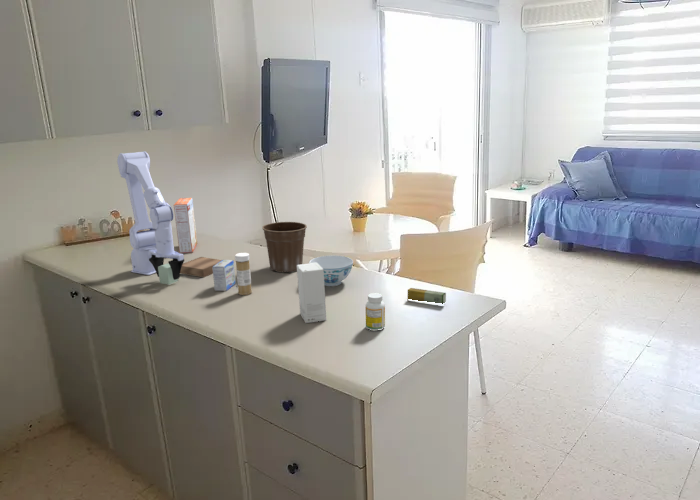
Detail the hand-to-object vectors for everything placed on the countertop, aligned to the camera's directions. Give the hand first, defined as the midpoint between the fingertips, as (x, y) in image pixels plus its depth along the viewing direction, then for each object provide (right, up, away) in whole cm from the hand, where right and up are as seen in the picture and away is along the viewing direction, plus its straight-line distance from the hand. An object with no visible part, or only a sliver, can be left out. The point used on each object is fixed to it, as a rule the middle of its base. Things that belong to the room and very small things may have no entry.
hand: (168, 277), depth 199 cm
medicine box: (+21, -3, -6) cm, 22 cm away
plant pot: (+40, +3, +14) cm, 42 cm away
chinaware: (+58, -2, -4) cm, 58 cm away
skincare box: (+53, -10, -33) cm, 63 cm away
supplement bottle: (+71, -12, -42) cm, 83 cm away
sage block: (0, -2, 0) cm, 2 cm away
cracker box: (-5, +10, +42) cm, 44 cm away
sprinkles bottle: (+29, -5, -12) cm, 32 cm away
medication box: (+88, -7, -24) cm, 91 cm away
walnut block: (+9, +2, +12) cm, 15 cm away
